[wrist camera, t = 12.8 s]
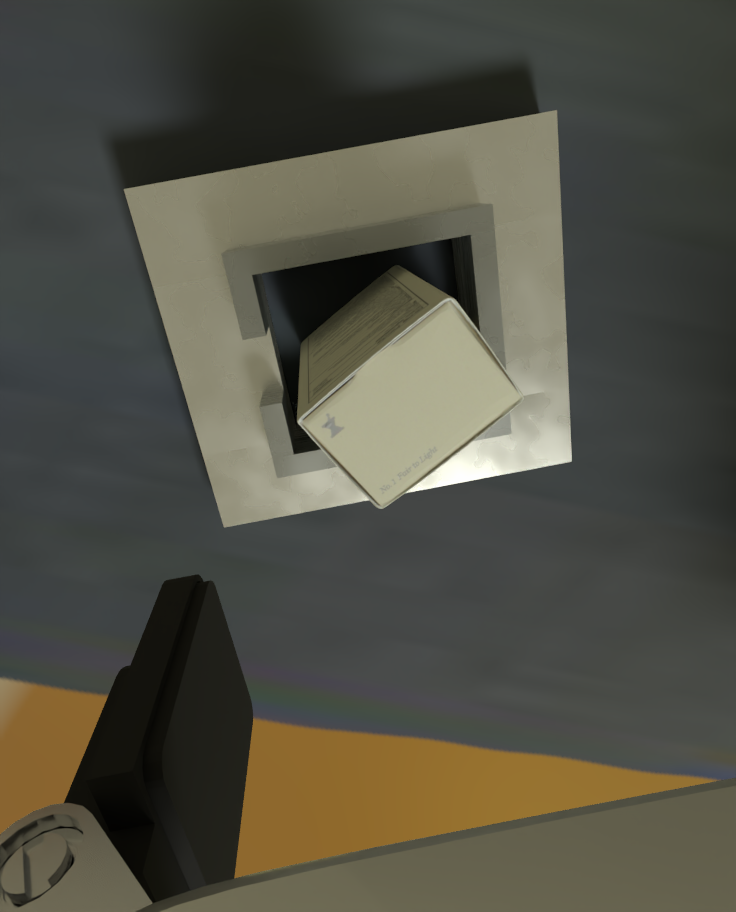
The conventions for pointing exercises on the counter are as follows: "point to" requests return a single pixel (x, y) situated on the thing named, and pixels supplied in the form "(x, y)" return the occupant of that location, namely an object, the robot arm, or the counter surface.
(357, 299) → the skincare box
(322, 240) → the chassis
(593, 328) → the counter surface
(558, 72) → the counter surface
